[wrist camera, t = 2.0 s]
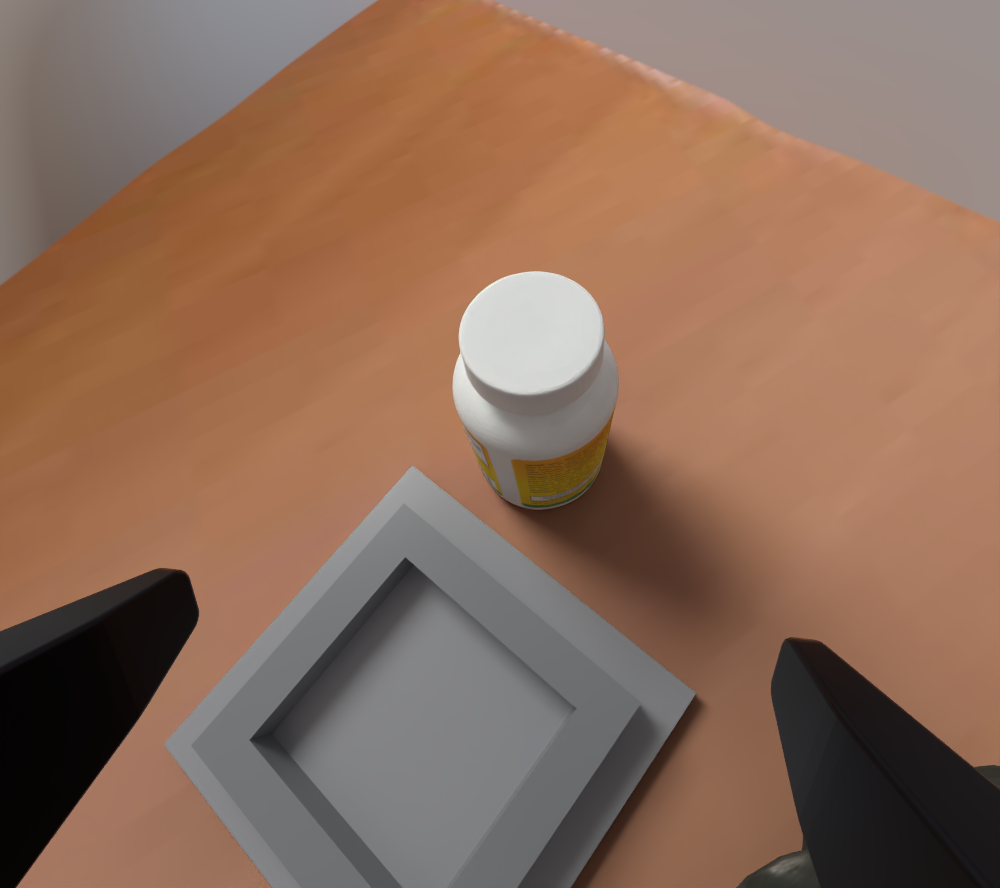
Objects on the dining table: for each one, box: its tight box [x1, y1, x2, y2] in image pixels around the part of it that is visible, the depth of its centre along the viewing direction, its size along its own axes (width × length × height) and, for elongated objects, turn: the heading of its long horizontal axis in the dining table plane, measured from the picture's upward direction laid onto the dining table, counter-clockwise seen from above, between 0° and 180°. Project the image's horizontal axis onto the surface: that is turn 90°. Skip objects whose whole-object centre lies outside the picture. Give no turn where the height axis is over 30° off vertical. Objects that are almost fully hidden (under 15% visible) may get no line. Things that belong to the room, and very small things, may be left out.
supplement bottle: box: [453, 271, 619, 510], centre depth 18 cm, size 5×5×10 cm
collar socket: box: [164, 466, 696, 888], centre depth 18 cm, size 14×14×2 cm
